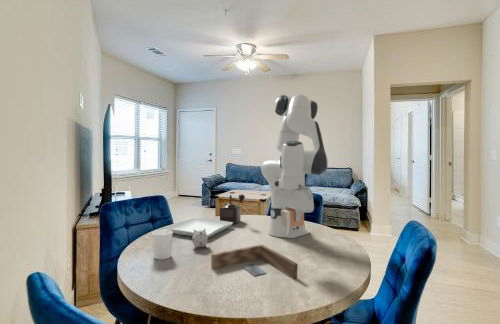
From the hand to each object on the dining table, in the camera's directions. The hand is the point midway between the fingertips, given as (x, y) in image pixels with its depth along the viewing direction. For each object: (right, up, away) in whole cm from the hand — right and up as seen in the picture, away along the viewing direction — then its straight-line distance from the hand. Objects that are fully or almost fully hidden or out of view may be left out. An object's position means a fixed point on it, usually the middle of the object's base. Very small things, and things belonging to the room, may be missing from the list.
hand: (292, 219), depth 107 cm
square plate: (-43, -16, +44) cm, 63 cm away
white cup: (-52, -17, +6) cm, 55 cm away
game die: (-39, -16, +17) cm, 45 cm away
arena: (-16, -17, -8) cm, 25 cm away
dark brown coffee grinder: (-26, -15, +62) cm, 69 cm away
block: (0, -2, 0) cm, 2 cm away
